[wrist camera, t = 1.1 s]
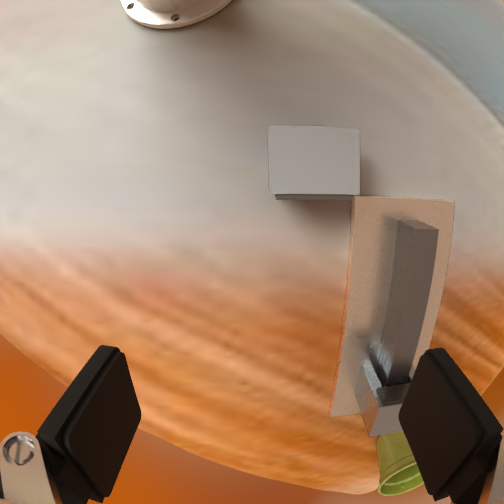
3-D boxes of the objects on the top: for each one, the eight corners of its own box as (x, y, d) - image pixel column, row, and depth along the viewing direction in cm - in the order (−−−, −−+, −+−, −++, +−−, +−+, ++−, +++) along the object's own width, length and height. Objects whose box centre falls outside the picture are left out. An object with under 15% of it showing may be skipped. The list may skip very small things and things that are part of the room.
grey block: (267, 135, 25) (268, 125, 18) (335, 136, 25) (359, 128, 18) (268, 190, 26) (270, 200, 20) (336, 191, 26) (359, 200, 19)
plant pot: (433, 420, 34) (454, 459, 26) (394, 456, 37) (408, 496, 29) (394, 410, 34) (414, 457, 25) (353, 450, 36) (364, 495, 28)
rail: (351, 195, 26) (384, 208, 18) (449, 200, 26) (498, 214, 18) (328, 411, 33) (339, 459, 26) (406, 400, 33) (427, 442, 25)
